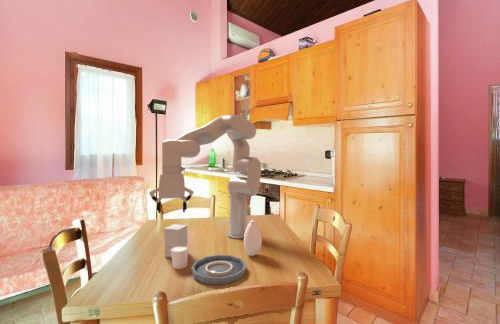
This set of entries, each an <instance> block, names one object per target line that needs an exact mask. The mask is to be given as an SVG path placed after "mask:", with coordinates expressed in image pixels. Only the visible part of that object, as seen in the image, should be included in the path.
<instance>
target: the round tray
mask: <svg viewBox="0 0 500 324" xmlns="http://www.w3.org/2000/svg"><path fill="white" fill-rule="evenodd" d="M246 268H247V263H245V261H244V260H243V259H242V258H240V257H237V256H234V255H229V254H215V255H208V256H207V255H206V256H204V257H202V258H200V259H197V260H196V261H195V262H194V263H193V264H192V266H191V273H192V274H191V275H192V278H193V279H194V280H195V281H198V282H199V283H201V284H206V285H212V286H213V285H215V286H216V285H219V286H221V285H227V284H230V283H231V284H232V283H234V282H237V281H239V280H240V279H242V277H244V276H245V274H246Z"/></svg>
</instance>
